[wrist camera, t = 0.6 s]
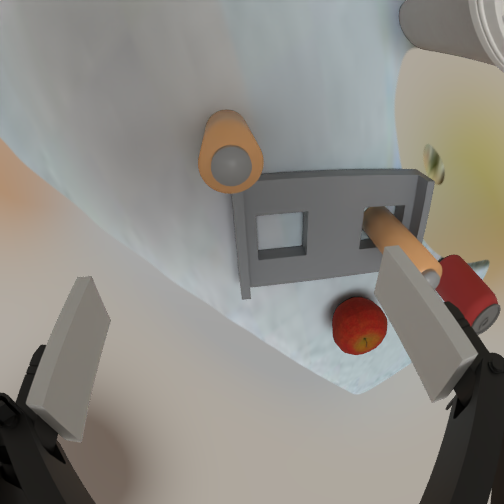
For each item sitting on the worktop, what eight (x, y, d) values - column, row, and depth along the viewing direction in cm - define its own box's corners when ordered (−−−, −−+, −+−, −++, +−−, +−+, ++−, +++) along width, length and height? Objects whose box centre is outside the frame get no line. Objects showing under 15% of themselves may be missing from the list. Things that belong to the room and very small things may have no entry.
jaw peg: (203, 111, 27) (193, 138, 17) (245, 108, 27) (263, 132, 17) (207, 150, 29) (201, 201, 19) (247, 147, 30) (266, 195, 19)
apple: (351, 330, 46) (367, 368, 40) (313, 317, 44) (328, 359, 37) (383, 296, 43) (405, 333, 37) (347, 279, 40) (368, 319, 34)
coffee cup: (433, -17, 19) (529, -29, 7) (462, 53, 24) (559, 72, 12) (372, -7, 21) (468, -34, 8) (406, 71, 26) (509, 91, 13)
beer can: (423, 288, 43) (461, 342, 33) (437, 253, 40) (483, 305, 30) (452, 284, 44) (489, 333, 34) (465, 251, 41) (509, 299, 31)
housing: (230, 176, 31) (237, 240, 20) (416, 169, 32) (485, 218, 22) (239, 278, 38) (249, 361, 28) (399, 259, 40) (446, 322, 29)
